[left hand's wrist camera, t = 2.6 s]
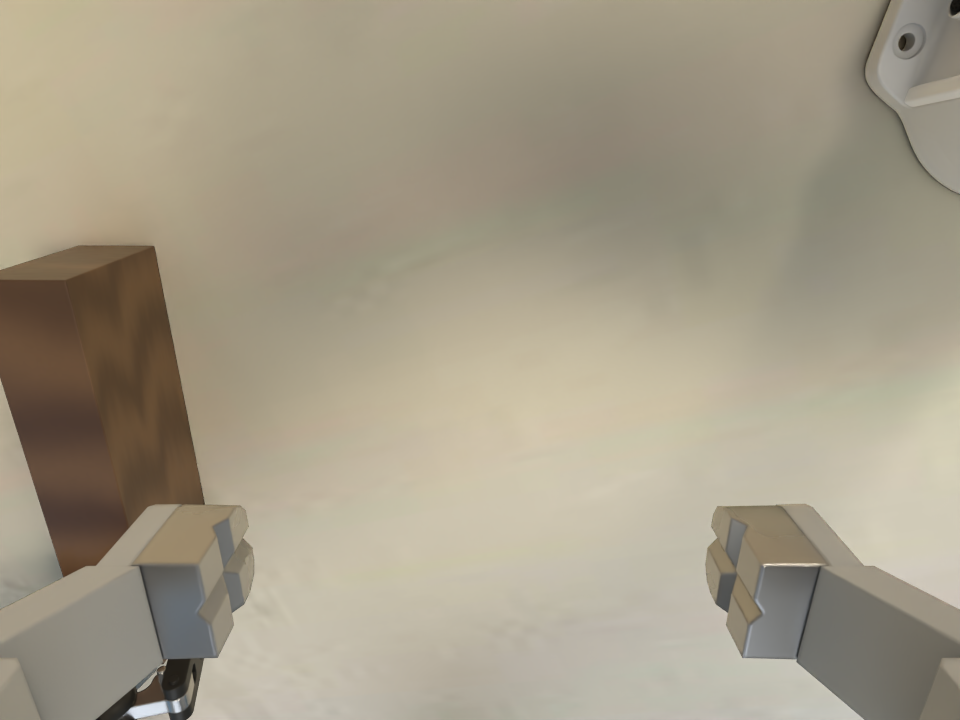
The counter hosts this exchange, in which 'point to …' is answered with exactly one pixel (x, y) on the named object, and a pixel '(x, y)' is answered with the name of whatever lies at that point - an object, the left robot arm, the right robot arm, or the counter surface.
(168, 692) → the right robot arm
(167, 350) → the bar
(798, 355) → the counter surface
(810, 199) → the counter surface
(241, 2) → the counter surface
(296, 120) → the counter surface
